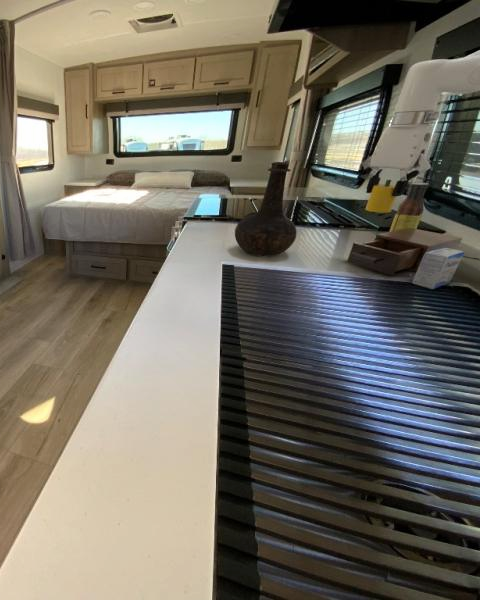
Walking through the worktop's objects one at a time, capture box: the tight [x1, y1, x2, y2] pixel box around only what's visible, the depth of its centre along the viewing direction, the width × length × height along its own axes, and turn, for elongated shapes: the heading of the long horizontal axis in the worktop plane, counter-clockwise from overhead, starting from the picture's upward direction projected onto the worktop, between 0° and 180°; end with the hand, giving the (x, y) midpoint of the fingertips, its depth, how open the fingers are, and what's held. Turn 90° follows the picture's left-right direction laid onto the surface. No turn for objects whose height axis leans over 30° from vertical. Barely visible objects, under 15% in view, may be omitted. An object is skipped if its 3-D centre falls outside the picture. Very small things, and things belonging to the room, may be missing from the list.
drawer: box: [346, 239, 424, 276], centre depth 93 cm, size 19×11×6 cm, turn 111°
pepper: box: [364, 179, 398, 214], centre depth 92 cm, size 6×6×8 cm
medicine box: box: [411, 248, 466, 290], centre depth 83 cm, size 8×4×9 cm, turn 114°
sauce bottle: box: [388, 182, 429, 232], centre depth 107 cm, size 7×6×20 cm
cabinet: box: [374, 228, 463, 273], centre depth 97 cm, size 16×13×8 cm
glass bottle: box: [234, 161, 298, 257], centre depth 104 cm, size 18×18×28 cm
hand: (383, 193), depth 91 cm, fingers closed on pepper, 5 cm apart
